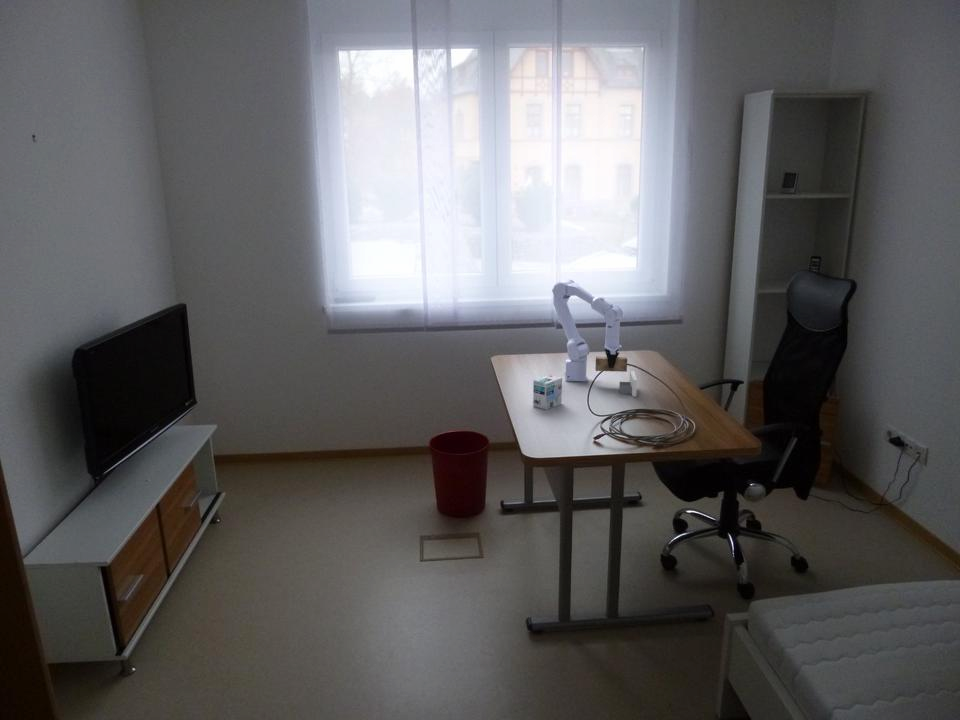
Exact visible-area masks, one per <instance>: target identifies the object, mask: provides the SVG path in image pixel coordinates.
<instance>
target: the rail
mask: <svg viewBox="0 0 960 720" xmlns="http://www.w3.org/2000/svg"><path fill="white" fill-rule="evenodd" d="M627 371H628V358H627V357H626V356H617V359H616V362H615V366H614V368H609V366H608V359H607V356H595V372H624V373H626V372H627ZM627 373H628V372H627Z"/></svg>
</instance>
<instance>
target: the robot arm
mask: <svg viewBox="0 0 960 720" xmlns="http://www.w3.org/2000/svg"><path fill="white" fill-rule="evenodd" d="M551 292H552V294H553V298H552V299H553V302H552V303H553V307H554V309H555V310H556V311H555V312H556V314H557V317H558V319H559V321H560V324H561V327H562V329H563V331H564V335H565V337H566V339H567V343H566V349H567V356H568V359H565V371H564V377H565V381H566V382H588V375H587V366H588V365H587V362H588V355H590V353H591V349H590V346H589V345H588V344H587V342H586V340H585V339H584V337H583V338H582V337H581V336H580V333H579V331H578V329H577V326H576V324H575V321H574V320H575V319H573V315H572V313H571V311H570V308H569V306H568V301H569V299H570V298H571V296H574V297H575V296H576V297H577V298H579V299H581V300H583V301H585V302H586V303H588V304H590V307H591V309H592V310H594V311H595V312H596V313H598V314H600V315H601V316H603V318H604V320H605V339H604V340H605V341H604V342H605V343H604V353H605V355H606V357H607V359H608V366H609V368H614V366H615V362H616V359H617V357H619V356H620V352H619V349H621V348H623V347H622V345H621V344H620V329H621V328H620V327H621V319H622V318H623V315H624V313H623V310H622V308H621V307H620V306H617V305H615V306H614V304H612V303H609V302H608V301H606V300H605V298H604V297H603V296H601V297H600V296H598V297H595V296H593V295H592V294H591V293H590V292H588V291H587V290H585V289H584V288H583V287H581V286H580V284H579V283H578V282H575V281H574V280H572V279H567V280H564V281H558V282H556V283H555V284H554V286H553V288H552V289H551Z"/></svg>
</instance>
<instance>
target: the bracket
mask: <svg viewBox="0 0 960 720" xmlns="http://www.w3.org/2000/svg"><path fill="white" fill-rule="evenodd" d="M618 388H619V393H620V394H621V395H622V394H623V395H625V394H626V395H627V394H628V395H631V396H632V397H637V392H638V391H637V388H638V379H637V376H636V374H635V370H630V371H629V381H619V387H618Z"/></svg>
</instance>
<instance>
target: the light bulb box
mask: <svg viewBox="0 0 960 720" xmlns="http://www.w3.org/2000/svg"><path fill="white" fill-rule="evenodd" d="M562 394H563V377H560V376H555V375H552V374H547V375H546V376H545V375H544V376H542V377H540V378H537V379H534V380H533V394H532V395H533V397H532V400H533V401H532V405H533V407H536V408H539V409H542V410H546V411H547V410H549V409H551V408H553V407H556V406H558V405H561V404H562V402H563V401H562V399H563V398H562V396H563V395H562Z"/></svg>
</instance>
